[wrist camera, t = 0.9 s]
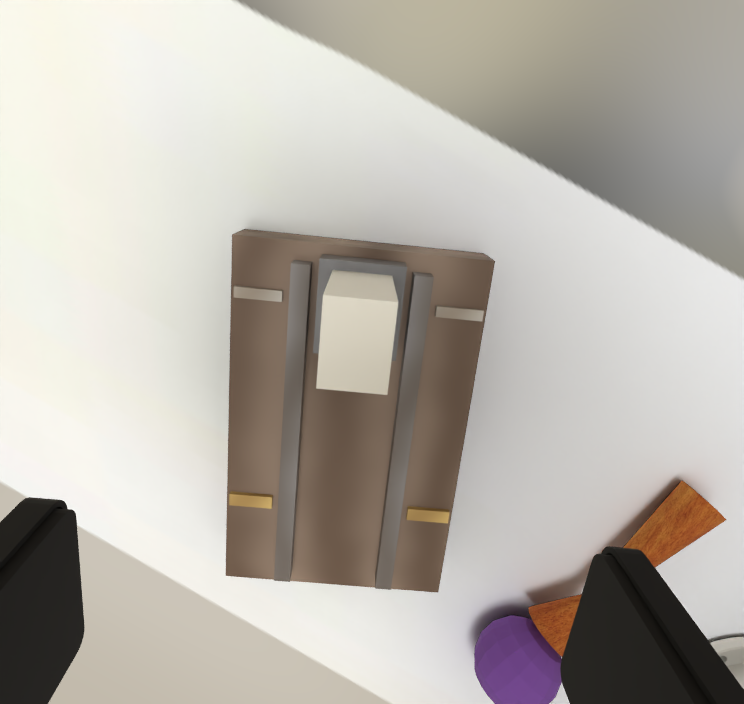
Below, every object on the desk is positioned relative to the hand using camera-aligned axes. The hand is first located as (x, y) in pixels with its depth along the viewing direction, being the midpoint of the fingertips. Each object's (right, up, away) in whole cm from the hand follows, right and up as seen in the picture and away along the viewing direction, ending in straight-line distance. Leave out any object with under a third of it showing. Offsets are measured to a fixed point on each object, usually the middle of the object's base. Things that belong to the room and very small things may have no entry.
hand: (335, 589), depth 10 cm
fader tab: (0, +7, +19) cm, 21 cm away
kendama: (+16, -12, +30) cm, 36 cm away
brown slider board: (-1, 0, +25) cm, 25 cm away
